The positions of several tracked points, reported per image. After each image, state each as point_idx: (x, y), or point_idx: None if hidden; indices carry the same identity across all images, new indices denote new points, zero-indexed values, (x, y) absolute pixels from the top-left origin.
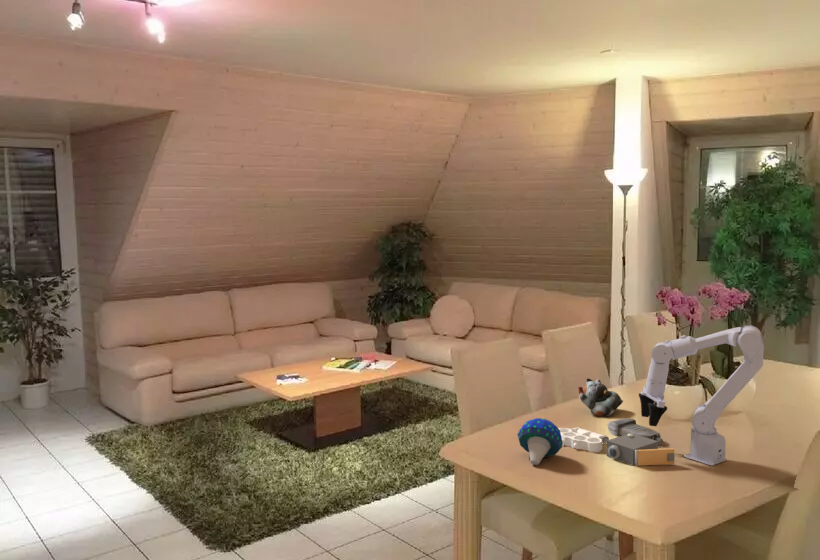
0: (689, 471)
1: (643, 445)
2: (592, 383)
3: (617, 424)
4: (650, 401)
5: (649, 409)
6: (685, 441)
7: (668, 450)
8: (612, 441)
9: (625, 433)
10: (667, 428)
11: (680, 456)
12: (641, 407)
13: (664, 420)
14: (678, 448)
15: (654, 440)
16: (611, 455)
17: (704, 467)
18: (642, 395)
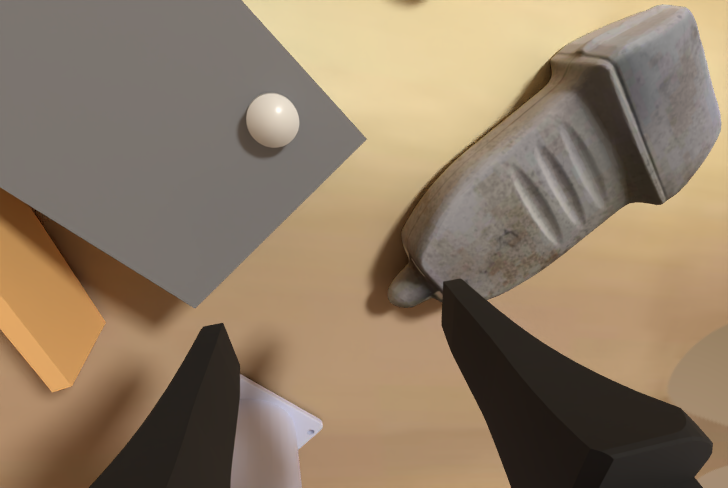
0: (10, 384)
1: (39, 199)
2: None
3: (611, 66)
4: (523, 472)
5: (148, 484)
6: (453, 379)
7: (31, 355)
8: None
9: (524, 114)
10: (613, 324)
11: (245, 355)
12: (503, 328)
13: (702, 319)
14: (361, 352)
15: (210, 287)
16: None
17: (109, 437)
18: (607, 480)
